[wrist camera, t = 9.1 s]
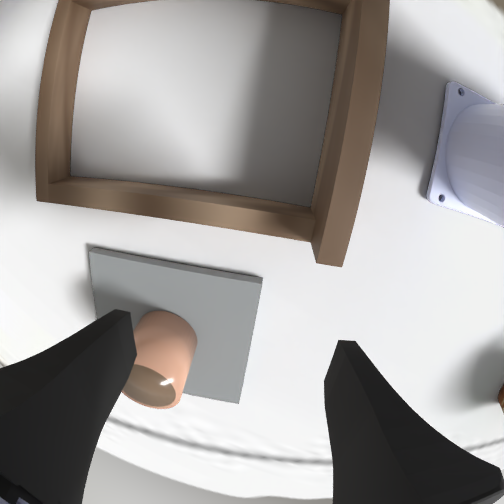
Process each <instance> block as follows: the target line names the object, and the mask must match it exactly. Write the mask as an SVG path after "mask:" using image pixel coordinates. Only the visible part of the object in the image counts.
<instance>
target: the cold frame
mask: <svg viewBox="0 0 504 504" xmlns="http://www.w3.org/2000/svg"><path fill="white" fill-rule="evenodd" d="M145 1H155V0H59V1H58V5H57V8H56V12H55V15H54V19H53V23H52V27H51V31H50V35H49V39H48V44H47V49H46V54H45V59H44V65H43V71H42V77H41V84H40V92H39V101H38V112H37V125H36V150H35V174H36V199H37V201H40V202H48V203H56V204H64V205H71V206H79V207H86V208H94V209H101V210H108V211H115V212H122V213H129V214H136V215H143V216H150V217H156V218H163V219H170V220H176V221H183V222H189V223H196V224H202V225H209V226H215V227H221V228H228V229H234V230H240V231H246V232H252V233H258V234H264V235H270V236H276V237H282V238H288V239H294V240H300V241H306V242H311V245H312V249H313V253H314V256H315V260H316V263H319V264H325V265H331V266H337V267H342V265H343V262H344V259H345V255H346V251H347V248H348V244H349V241H350V237H351V233H352V229H353V225H354V222H355V218H356V214H357V210H358V205H359V201H360V197H361V193H362V188H363V184H364V180H365V175H366V170H367V166H368V161H369V156H370V151H371V146H372V141H373V135H374V130H375V124H376V118H377V112H378V106H379V100H380V93H381V86H382V79H383V71H384V63H385V54H386V44H387V33H388V21H389V5H390V0H259V1H269V2H277V3H284V4H291V5H297V6H303V7H309V8H314V9H319V10H324V11H328V12H333V13H337V14H341V15H342V22H341V30H340V38H339V45H338V53H337V60H336V67H335V74H334V81H333V87H332V93H331V100H330V106H329V112H328V118H327V124H326V130H325V135H324V141H323V146H322V152H321V157H320V163H319V168H318V173H317V178H316V183H315V188H314V193H313V198H312V203H311V208H310V207H304V206H299V205H293V204H288V203H282V202H276V201H270V200H264V199H258V198H252V197H245V196H239V195H232V194H226V193H219V192H212V191H205V190H197V189H190V188H182V187H174V186H166V185H158V184H149V183H140V182H130V181H120V180H110V179H99V178H87V177H74V176H70V160H71V136H72V121H73V110H74V100H75V92H76V84H77V77H78V71H79V65H80V59H81V53H82V48H83V43H84V39H85V34H86V30H87V25H88V21H89V17H90V14H91V10H96V9H101V8H106V7H111V6H117V5H123V4H130V3H137V2H145Z"/></svg>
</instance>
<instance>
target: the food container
mask: <svg viewBox="0 0 504 504" xmlns="http://www.w3.org/2000/svg"><path fill="white" fill-rule="evenodd" d="M498 401H499V403H500V406H501V408H502V410H503V413H504V384H503V386H502V388H501V390H500V392H499V395H498Z"/></svg>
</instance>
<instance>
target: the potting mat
mask: <svg viewBox="0 0 504 504" xmlns="http://www.w3.org/2000/svg"><path fill="white" fill-rule="evenodd" d="M89 258H90V269H91V278H92V286H93V294H94V301H95V307H96V314H97V319H99V318H101V317H102V316H104V315H106V314H107V313H109V312H111V311H113V310H114V309H118V310H123V311H128V312H130V313H131V320H132V327H133V331H134V329H135V327H136V325H137V324H138V322H139V320H140V319H141V318H142V316H144V315H145V314H146V313H149V312H152V311H166V312H170V313H173V314H175V315H177V316H179V317H181V318H182V319H184V320H185V321H186V322H188V323H189V325H190V326H191V327H192V328H193V330H194V331H195V333H196V336H197V341H198V342H197V348H196V351H195V354H194V357H193V360H192V363H191V366H190V370H189V373H188V376H187V379H186V382H185V386H184V389H183V392H182V393H185V394H190V395H194V396H199V397H204V398H209V399H214V400H220V401H225V402H231V403H237V404H239V400H240V396H241V391H242V386H243V381H244V376H245V371H246V366H247V361H248V355H249V350H250V345H251V340H252V335H253V330H254V325H255V319H256V314H257V309H258V304H259V298H260V293H261V288H262V281H263V278H260V277H254V276H248V275H242V274H236V273H230V272H225V271H219V270H213V269H207V268H202V267H196V266H190V265H185V264H179V263H174V262H168V261H163V260H157V259H152V258H147V257H141V256H136V255H131V254H125V253H120V252H115V251H110V250H105V249H100V248H93V249H92V250H91V251H89Z"/></svg>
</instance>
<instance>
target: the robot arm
mask: <svg viewBox="0 0 504 504" xmlns="http://www.w3.org/2000/svg"><path fill="white" fill-rule="evenodd" d="M459 89H460V91H461V96H460V95H459V93H458V90H459ZM441 194H442V199H441V200H440V201H439V200H438V198H439V195H441ZM427 199H428V201H429V202H431V203H433V204H436V205H439V206H442V207H446V208H449V209H452V210H455V211H458V212H461V213H465V214H468V215H471V216H474V217H477V218H480V219H483V220H485V221H488V222H491V223H494V224H497V225H499V226H502V227H503V228H504V104H495V103H494V102H492V101H490V100H489V99H487V98H485V97H483V96H481V95H480V94H478V93H476V92H474V91H472V90H470V89H468V88H467V87H465V86H463V85H461V84H459V83H457V82H454V81H452V82H448V83H447V85H446V93H445V101H444V109H443V116H442V122H441V128H440V134H439V140H438V145H437V150H436V155H435V160H434V165H433V169H432V174H431V178H430V182H429V186H428V191H427ZM136 357H137V350H136V345H135V339H134V333H133V327H132V320H131V313H130V312H128V311H123V310H118V309H114V310H113V311H111V312H109V313H107V314H106V315H104V316H102V317H101V318H99V319H97V320H96V321H94V322H93V323H91V324H89V325H88V326H86V327H85V328H83V329H81V330H80V331H78V332H77V333H75V334H73V335H72V336H70V337H68V338H66V339H65V340H63V341H61V342H59V343H57V344H56V345H54V346H52V347H50V348H49V349H47V350H45V351H43V352H41V353H39V354H36V355H34V356H32V357H30V358H27V359H25V360H23V361H20V362H17V363H14V364H12V365H9V366H6V367H3V368H0V504H82V499H83V494H84V488H85V484H86V480H87V475H88V471H89V468H90V464H91V461H92V457H93V454H94V451H95V448H96V445H97V442H98V439H99V436H100V433H101V431H102V429H103V426H104V424H105V422H106V420H107V418H108V416H109V414H110V412H111V410H112V408H113V407H114V405H115V403H116V401H117V399H118V397H119V395H120V393H121V391H122V390H123V388H124V386H125V384H126V382H127V380H128V378H129V376H130V373H131V370H132V368H133V365H134V362H135V359H136ZM324 398H325V411H326V418H327V424H328V431H329V438H330V445H331V452H332V459H333V504H493V503H494V502H496V501H497V500H499V499H500V498H501V497H502V496H503V495H504V479H503V476H502V473H501V470H500V468H499V467H497V466H494V465H492V464H490V463H488V462H486V461H484V460H482V459H479V458H477V457H475V456H474V455H472V454H470V453H469V452H467V451H465V450H463V449H462V448H460V447H459V446H457V445H456V444H454V443H453V442H451V441H450V440H448V439H447V438H446V437H444V436H443V435H442V434H440V433H439V432H438V431H436V430H435V429H434V428H433V427H431V426H430V425H429V424H428V423H427V422H426V421H425V420H423V419H422V418H421V417H420V416H419V415H418V414H417V413H416V412H415V411H414V410H413V409H412V408H411V407H410V406H409V405H408V404H407V403H406V402H405V401H404V400H403V399H402V398H401V397H400V396H399V395H398V393H397V392H396V391H395V390H394V389H393V388H392V387H391V385H390V384H389V383H388V382H387V381H386V379H385V378H384V377H383V376H382V375H381V373H380V372H379V371H378V369H377V368H376V367H375V366H374V364H373V363H372V362H371V360H370V359H369V358H368V357H367V355H366V354H365V353H364V351H363V350H362V349H361V348H360V346H359V345H358V344H357V343H356V341H346V340H338V343H337V346H336V349H335V352H334V355H333V358H332V361H331V363H330V366H329V369H328V372H327V374H326V377H325V380H324Z"/></svg>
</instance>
